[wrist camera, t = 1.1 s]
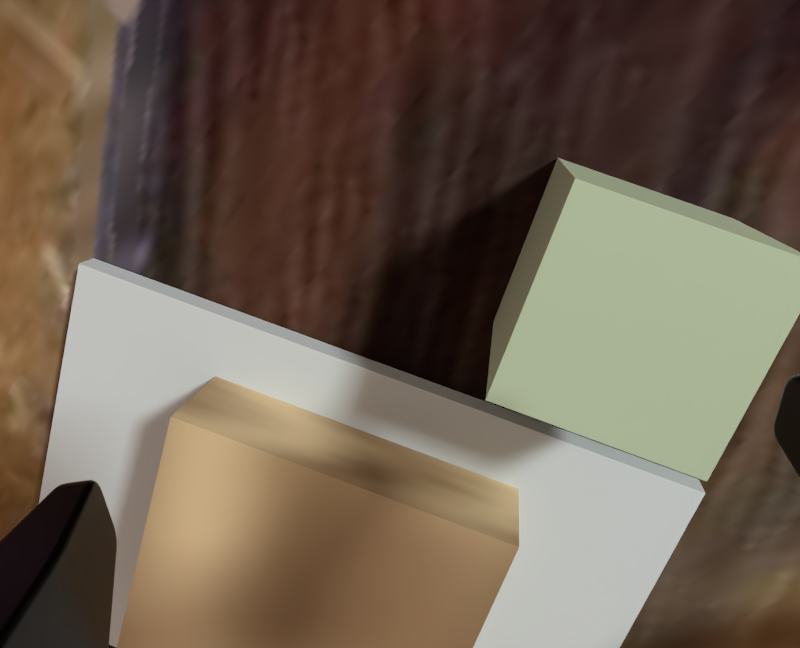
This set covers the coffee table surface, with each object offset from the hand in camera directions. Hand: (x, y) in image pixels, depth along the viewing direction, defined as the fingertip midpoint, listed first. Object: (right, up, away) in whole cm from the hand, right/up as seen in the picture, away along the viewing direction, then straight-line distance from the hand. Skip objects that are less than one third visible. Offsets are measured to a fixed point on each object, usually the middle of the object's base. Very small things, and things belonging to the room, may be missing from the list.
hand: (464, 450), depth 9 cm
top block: (+5, +3, +11) cm, 12 cm away
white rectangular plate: (-3, -6, +15) cm, 16 cm away
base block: (-3, -6, +14) cm, 16 cm away
